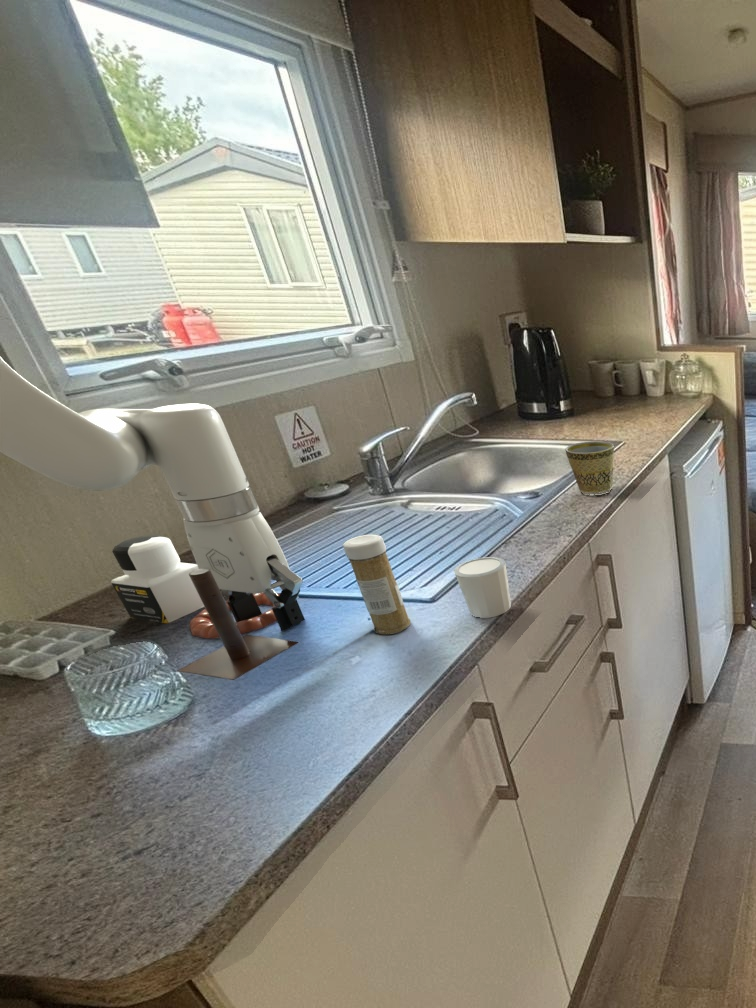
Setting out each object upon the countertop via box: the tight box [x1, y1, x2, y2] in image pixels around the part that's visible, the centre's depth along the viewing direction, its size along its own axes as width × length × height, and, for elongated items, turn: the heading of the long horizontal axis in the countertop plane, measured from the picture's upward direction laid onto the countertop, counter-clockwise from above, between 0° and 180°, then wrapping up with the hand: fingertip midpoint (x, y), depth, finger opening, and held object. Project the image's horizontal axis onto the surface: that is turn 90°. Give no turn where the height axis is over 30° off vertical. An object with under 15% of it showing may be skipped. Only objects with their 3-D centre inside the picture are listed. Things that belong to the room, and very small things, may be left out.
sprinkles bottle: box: [342, 534, 411, 636], centre depth 89 cm, size 5×5×14 cm
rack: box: [176, 568, 300, 681], centre depth 82 cm, size 9×9×13 cm
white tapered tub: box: [453, 556, 512, 619], centre depth 96 cm, size 7×7×7 cm
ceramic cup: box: [564, 440, 615, 495], centre depth 144 cm, size 13×10×10 cm
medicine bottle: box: [110, 534, 205, 624], centre depth 93 cm, size 7×7×12 cm
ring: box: [188, 592, 280, 639], centre depth 94 cm, size 12×12×2 cm
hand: (272, 624), depth 92 cm, fingers open, 6 cm apart
